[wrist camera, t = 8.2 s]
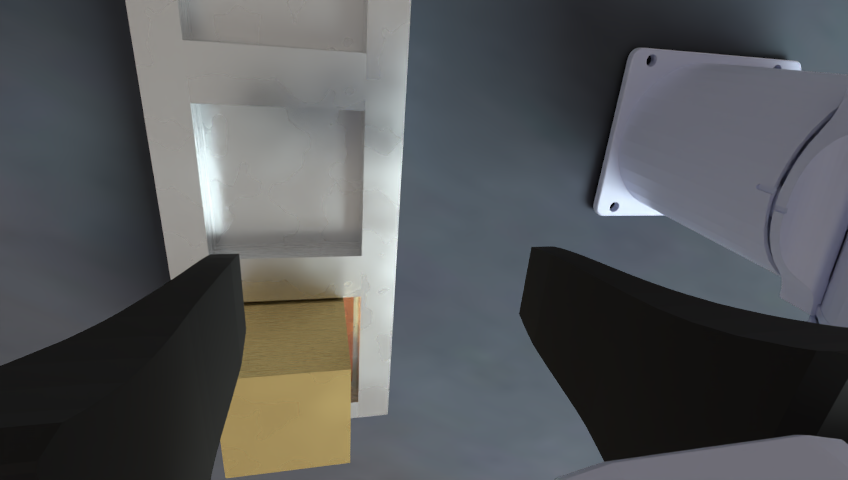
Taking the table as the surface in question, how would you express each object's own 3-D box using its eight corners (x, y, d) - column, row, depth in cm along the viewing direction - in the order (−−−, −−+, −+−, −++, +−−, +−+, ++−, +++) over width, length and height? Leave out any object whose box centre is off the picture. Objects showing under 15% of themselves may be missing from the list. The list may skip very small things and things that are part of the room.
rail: (407, -162, 16) (422, -192, 14) (381, 381, 26) (387, 414, 24) (119, -213, 14) (82, -258, 12) (207, 396, 24) (195, 434, 22)
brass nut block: (342, 284, 21) (351, 369, 16) (341, 363, 23) (350, 462, 18) (238, 289, 20) (212, 380, 15) (246, 370, 22) (225, 478, 17)
